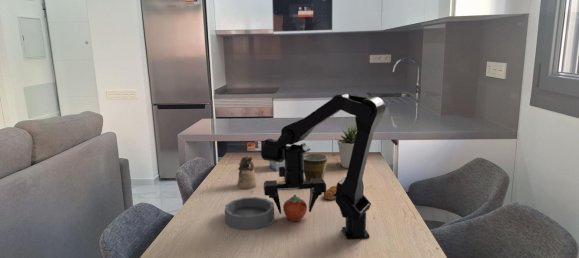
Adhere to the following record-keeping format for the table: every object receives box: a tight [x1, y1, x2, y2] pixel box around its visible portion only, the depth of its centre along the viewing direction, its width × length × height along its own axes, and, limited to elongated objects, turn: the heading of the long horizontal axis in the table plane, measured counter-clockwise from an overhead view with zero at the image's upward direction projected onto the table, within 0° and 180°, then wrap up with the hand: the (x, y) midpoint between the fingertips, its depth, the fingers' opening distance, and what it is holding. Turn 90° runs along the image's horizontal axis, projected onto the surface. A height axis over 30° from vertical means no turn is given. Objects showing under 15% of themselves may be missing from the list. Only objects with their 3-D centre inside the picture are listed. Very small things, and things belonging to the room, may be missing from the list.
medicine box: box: [268, 160, 285, 172], centre depth 171 cm, size 8×4×9 cm, turn 25°
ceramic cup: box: [304, 153, 328, 183], centre depth 155 cm, size 13×10×10 cm
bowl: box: [224, 196, 275, 231], centre depth 123 cm, size 15×15×4 cm
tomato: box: [282, 194, 308, 222], centre depth 122 cm, size 7×7×8 cm
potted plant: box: [335, 124, 357, 169], centre depth 171 cm, size 13×14×20 cm
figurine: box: [237, 155, 258, 190], centre depth 150 cm, size 7×7×12 cm
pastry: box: [323, 184, 337, 201], centre depth 140 cm, size 9×7×4 cm
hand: (295, 212), depth 122 cm, fingers open, 9 cm apart
